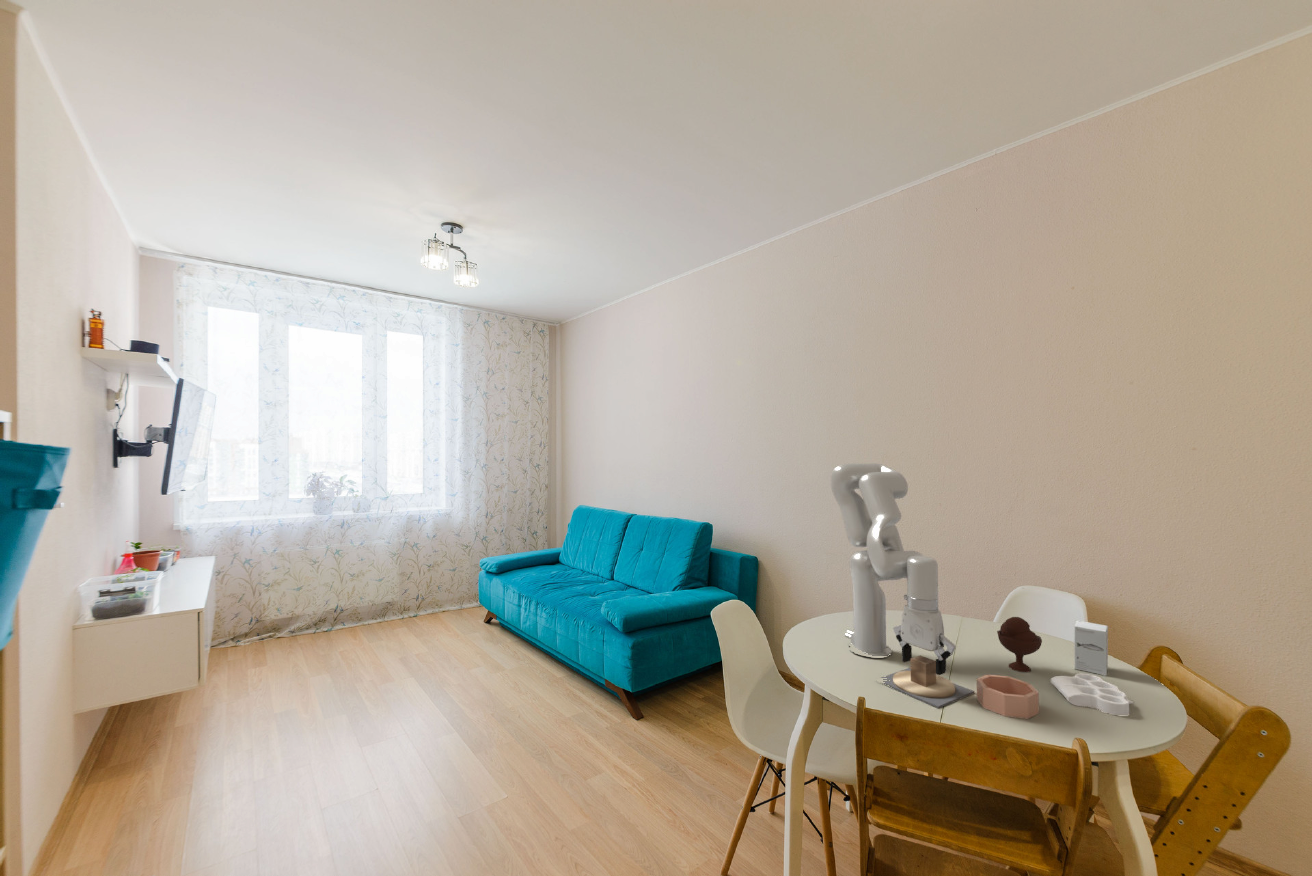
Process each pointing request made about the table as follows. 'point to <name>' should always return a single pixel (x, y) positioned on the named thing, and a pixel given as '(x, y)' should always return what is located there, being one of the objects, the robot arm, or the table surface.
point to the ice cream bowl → (1018, 641)
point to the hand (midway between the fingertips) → (923, 667)
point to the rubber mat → (935, 702)
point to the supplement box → (1091, 647)
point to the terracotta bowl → (1008, 696)
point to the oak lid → (924, 680)
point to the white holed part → (1092, 693)
